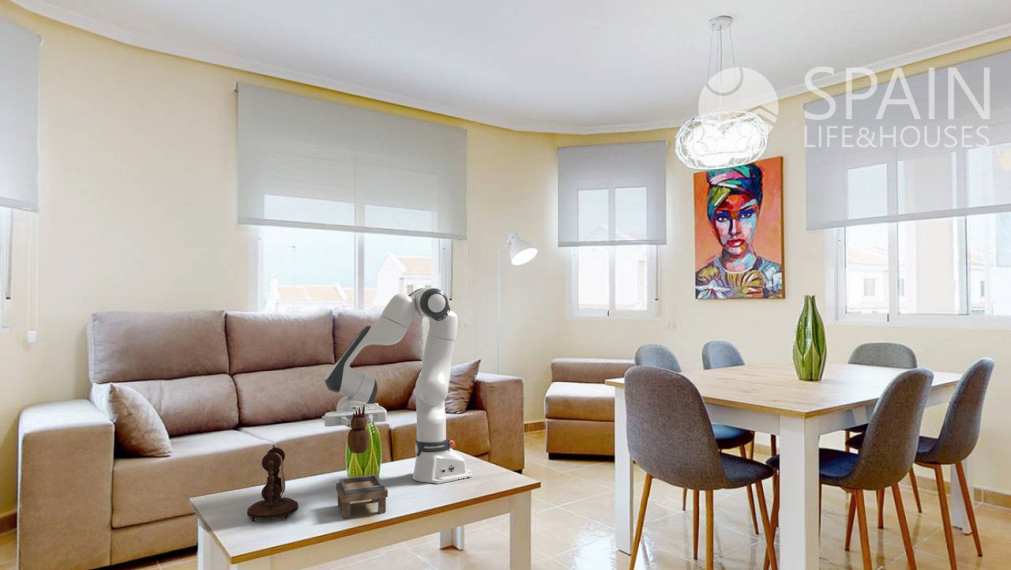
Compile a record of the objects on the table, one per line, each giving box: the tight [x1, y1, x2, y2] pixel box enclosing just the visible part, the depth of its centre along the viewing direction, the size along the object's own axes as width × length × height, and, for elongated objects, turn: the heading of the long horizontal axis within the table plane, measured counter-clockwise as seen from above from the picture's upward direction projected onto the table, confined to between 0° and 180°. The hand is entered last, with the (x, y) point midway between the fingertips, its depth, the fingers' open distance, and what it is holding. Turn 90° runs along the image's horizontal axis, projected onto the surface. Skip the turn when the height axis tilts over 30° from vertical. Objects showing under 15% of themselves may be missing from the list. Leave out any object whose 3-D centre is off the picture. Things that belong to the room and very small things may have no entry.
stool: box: [335, 474, 389, 520], centre depth 184 cm, size 14×14×8 cm
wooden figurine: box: [347, 405, 370, 454], centre depth 186 cm, size 7×6×15 cm
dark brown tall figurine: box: [246, 447, 299, 523], centre depth 179 cm, size 15×15×20 cm
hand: (358, 421), depth 185 cm, fingers closed on wooden figurine, 5 cm apart
